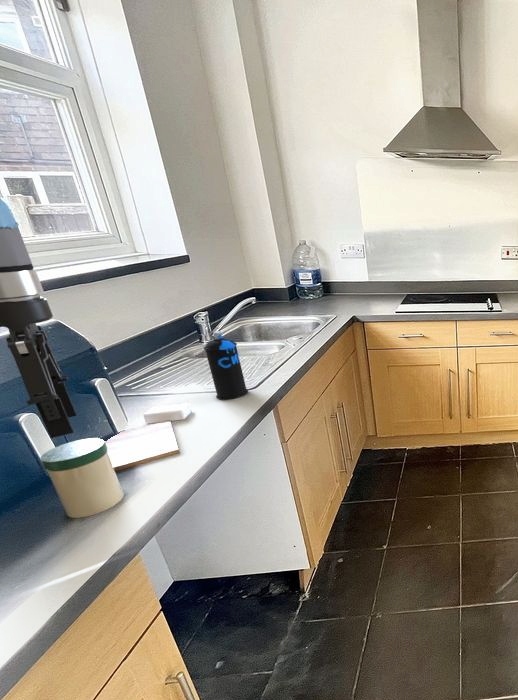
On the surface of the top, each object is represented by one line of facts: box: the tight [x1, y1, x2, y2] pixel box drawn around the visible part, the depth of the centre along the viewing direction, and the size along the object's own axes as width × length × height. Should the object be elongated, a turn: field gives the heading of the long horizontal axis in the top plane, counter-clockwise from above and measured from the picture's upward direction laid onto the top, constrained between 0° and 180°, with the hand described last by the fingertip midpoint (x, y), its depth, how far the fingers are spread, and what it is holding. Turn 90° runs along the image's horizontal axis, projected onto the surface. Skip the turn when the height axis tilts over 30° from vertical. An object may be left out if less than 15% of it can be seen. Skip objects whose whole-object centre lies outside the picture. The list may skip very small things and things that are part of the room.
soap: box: [143, 402, 192, 425], centre depth 113 cm, size 9×6×3 cm, turn 107°
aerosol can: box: [203, 330, 249, 401], centre depth 125 cm, size 8×8×20 cm
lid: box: [40, 437, 108, 471], centre depth 76 cm, size 8×8×2 cm
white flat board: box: [105, 420, 181, 472], centre depth 99 cm, size 20×14×1 cm
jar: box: [46, 452, 125, 519], centre depth 77 cm, size 8×8×12 cm
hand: (64, 425), depth 74 cm, fingers open, 8 cm apart
